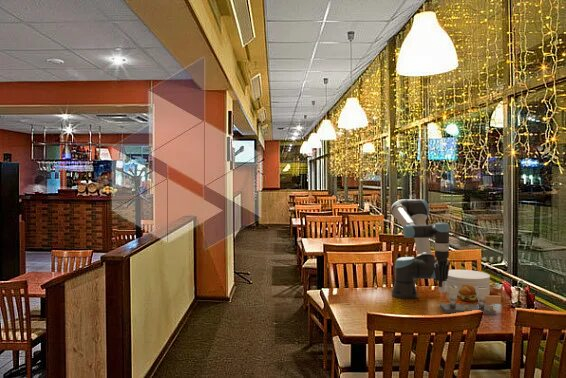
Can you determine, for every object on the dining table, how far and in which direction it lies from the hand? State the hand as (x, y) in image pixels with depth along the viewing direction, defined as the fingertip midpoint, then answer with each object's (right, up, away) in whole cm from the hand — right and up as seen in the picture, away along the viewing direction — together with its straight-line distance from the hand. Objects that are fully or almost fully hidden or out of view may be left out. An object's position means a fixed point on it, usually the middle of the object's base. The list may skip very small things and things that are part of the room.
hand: (441, 292), depth 257 cm
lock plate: (+12, -9, -6) cm, 16 cm away
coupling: (+5, -4, -2) cm, 6 cm away
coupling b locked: (+23, -4, -7) cm, 25 cm away
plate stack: (+28, -8, +36) cm, 47 cm away
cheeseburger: (+21, -8, +16) cm, 28 cm away
